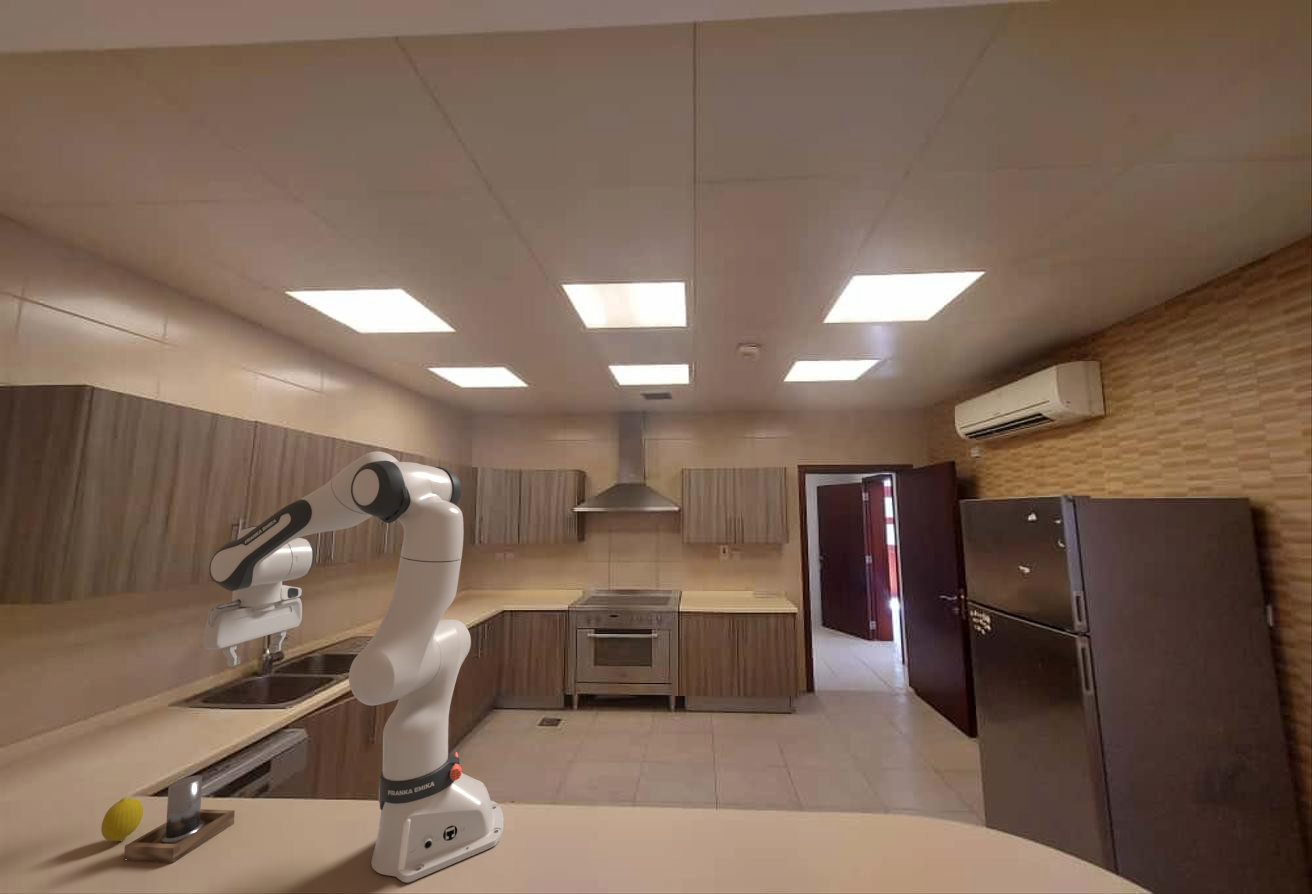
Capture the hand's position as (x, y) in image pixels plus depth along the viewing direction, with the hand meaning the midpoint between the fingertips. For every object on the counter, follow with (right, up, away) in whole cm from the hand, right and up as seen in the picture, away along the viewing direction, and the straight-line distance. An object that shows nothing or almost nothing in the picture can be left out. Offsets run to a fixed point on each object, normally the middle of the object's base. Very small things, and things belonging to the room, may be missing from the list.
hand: (255, 658), depth 108 cm
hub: (-2, -29, -14) cm, 32 cm away
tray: (-3, -30, -14) cm, 33 cm away
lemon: (-16, -31, -13) cm, 37 cm away
